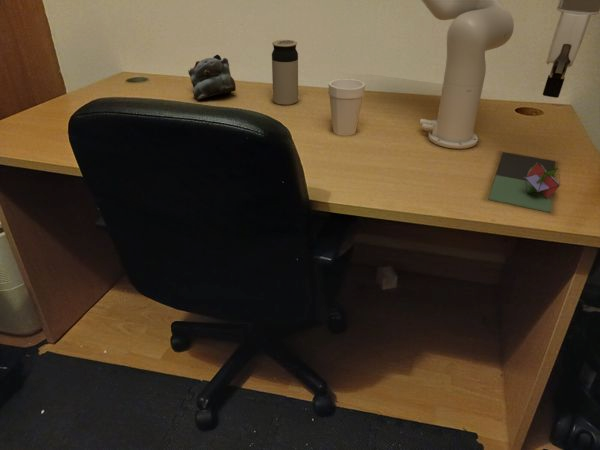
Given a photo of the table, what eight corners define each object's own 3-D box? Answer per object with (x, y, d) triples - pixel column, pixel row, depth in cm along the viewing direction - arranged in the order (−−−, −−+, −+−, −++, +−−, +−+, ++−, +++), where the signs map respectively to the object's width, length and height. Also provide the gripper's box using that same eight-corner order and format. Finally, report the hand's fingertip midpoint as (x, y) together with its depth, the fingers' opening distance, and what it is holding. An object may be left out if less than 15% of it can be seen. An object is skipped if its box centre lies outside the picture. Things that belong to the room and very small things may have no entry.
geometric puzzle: (574, 192, 98) (563, 155, 98) (551, 200, 95) (540, 161, 95) (544, 198, 105) (534, 163, 105) (522, 205, 102) (512, 169, 102)
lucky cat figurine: (187, 102, 151) (176, 58, 150) (202, 105, 163) (192, 64, 161) (231, 90, 148) (220, 44, 146) (243, 94, 159) (233, 52, 158)
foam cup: (366, 128, 134) (369, 81, 127) (355, 140, 127) (358, 91, 120) (334, 122, 137) (336, 77, 130) (322, 134, 130) (323, 86, 123)
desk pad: (488, 199, 101) (488, 198, 100) (502, 153, 120) (502, 152, 120) (550, 212, 96) (550, 211, 96) (554, 162, 116) (555, 161, 116)
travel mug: (302, 100, 154) (303, 41, 144) (289, 107, 148) (288, 46, 138) (282, 95, 157) (281, 38, 148) (268, 102, 152) (266, 43, 142)
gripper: (560, -4, 100) (534, 83, 110) (556, 7, 89) (528, 103, 99) (600, -1, 97) (570, 88, 108) (602, 11, 86) (568, 109, 97)
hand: (550, 95), depth 104 cm, fingers closed
